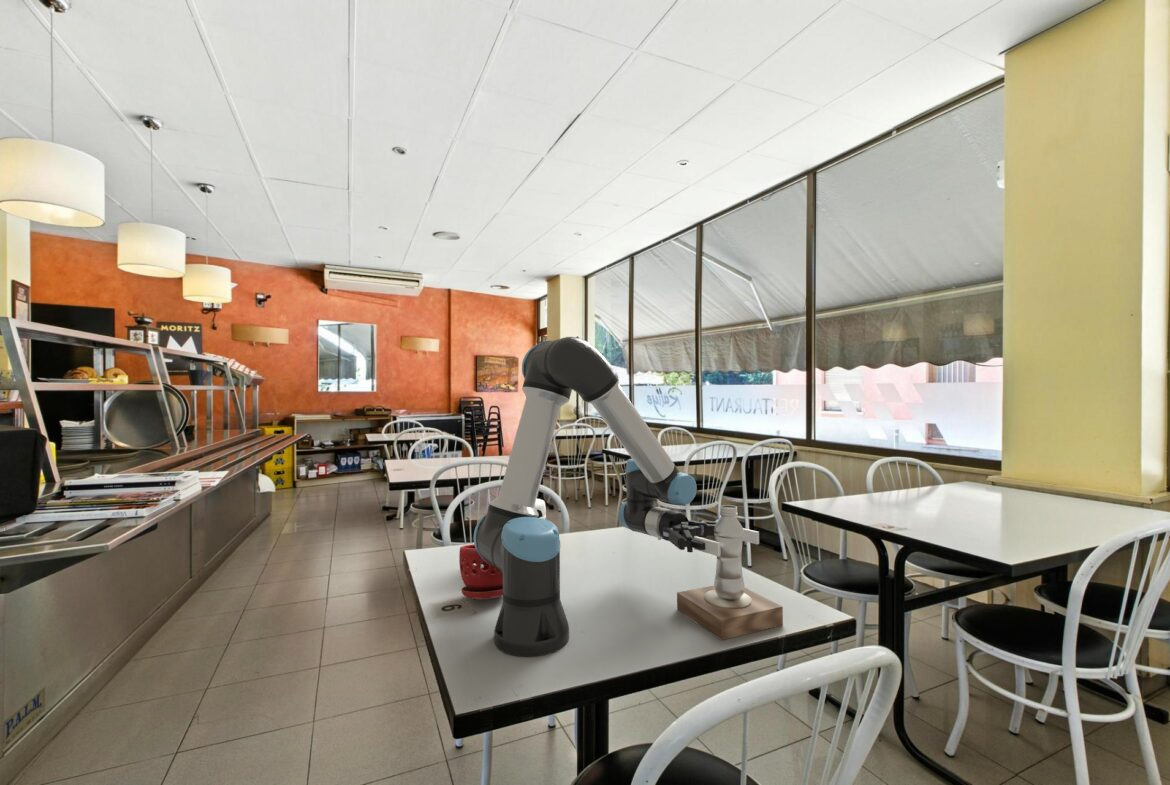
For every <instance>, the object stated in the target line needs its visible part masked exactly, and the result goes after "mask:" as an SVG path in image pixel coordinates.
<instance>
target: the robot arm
mask: <svg viewBox="0 0 1170 785" xmlns="http://www.w3.org/2000/svg"><path fill="white" fill-rule="evenodd" d="M521 372H522V373H521V374H522V375H523V378H524V379H523V384H522V388H521V390H522V392H523V393H524V396H525V400H524V405H523V409H522V411H521V415H520V419H519V422H518V426H517V429H516V433H515V437H514V440H513V444H512V447H511V451H510V454H509V458H508V462H507V465H506V469H505V473H504V474H503V475H504V476H503V479H502V482H501V483H502V484H501V485H500V486H501V487H500V489H499V490H500V491H499V493H498V496H497V497H496V498H495V499H493V500H491V501H490V502H489V505H488V508H487V512H486V513H485V514H484V515H483V516H482V517H481V518H480V519H479V520H478V522H477V524H476V525H475V528H474V532H473V544H474V545H475V548H476V550H477V552H478V554H479V555H480V556H481V557H482V559H483V560H484V561H485V562H486V563H487V564H489V565H491V566H493V567H494V568H495V569H497V570H498V571H499V572H501V573H502V575H503V595H502V604H501V607H500V610H499V614H498V616H497V620H496V624H495V627H494V630H493V631H494V633H493V636H494V637H493V638H494V640H493V642H494V645H495V647H496V648H497V649H498V650H500V651H501V652H503V653H505V654H508V655H511V656H517V657H537V656H543V655H544V656H545V655H547V654H550V653H553V652H556V651H558V650H560V649H561V648H563V647H564V646H565V645H566V644H567V643H568V642H569V639H570V626H569V621H568V619H567V615H566V613H565V610H564V606H563V604H562V601H561V554H560V552H561V551H560V550H561V540H560V533H559V532H560V531H559V529H558V527H557V525H556V524H554V523H553V521H551V520H548V519H547V518H546V519H543V518H541V519H538V516H539V514H538V512H537V510H536V508H535V502H536V499H538V493H539V489H540V486H541V483H542V480H543V475H544V472H545V467H546V463H547V461H548V458H549V452H550V449H551V445H552V443H553V442H552V441H553V437H554V433H555V430H556V427H557V423H558V419H559V415H560V412H561V408H562V407H563V406H565V405H566V404H568V403H569V402H570V398H571V395H572V392H573V391H574V392H575V393H576V394H577V395H579V396H580V398H581V399H582V401H583V402H584V403H586V404H591V405H592V406H593V408H594V409H595V410H596V412H597V413H598V414H599V416H600V417H601V418H602V419H603V422H605V424H606V425H607V426H608V428H609V429H610V431H611V432H612V433H613V435H614V436H615V438H616V439H617V440H618V441H619V443H620V444H621V446H622V447H623V448H624V449H625V451H626V452H627V453H628V455H629V456H630V458H629V459H627V461H626V465H625V467H626V468H625V482H626V484H625V486H626V501H624V502H623V503H621V505H620V506H619V511H618V512H617V513H618V514H617V517H618V518H617V519H618V521H619V524H620V525H621V526H622V527H623V528H626V529H628V530H630V531H632V532H636V533H641V534H643V535H647V536H650V537H653V538H657V540H658V541H661V540H664V541H668V542H670V544H672V545H674V546H675V548H677V549H678V550H680V551H683V550H685V549H686V552H687V553H693V552H694V551H693V550H695V551H699V552H701V553H706V554H709V555H712V556H716V557H717V556H720V542H716V541H715V540H712V539H708V538H707V537H708V536H710V537H711V536H712V537H715V536H714V527H715V525H716V523H717V522H718V521H713V520H705V519H701V518H700V519H698V521H696V520H691V519H690V520H689V519H688V517H687V515H686V514H685V513H683V512H681V511H677V510H674V509H673V510H672V509H670V508H665V507H661V506H656V503H655V502H656V500H659V501H662V502H665V503H666V502H667V503H670V504H672V505H679V506H687V505H689V504H691V503H692V501H693V500H694V498H695V497H696V495H697V491H698V490H697V489H698V487H697V483H696V480H695V478H694V477H693V476H692V475H690V474H688V473H686V472H681V471H680V470H679V468H678V467H677V465H675V463H674V461H673V460H672V459H671V457H670V456H669V454H668V453H667V451H666V450H665V449H664V447H663V446H662V444H661V442H660V441H659V440H658V439H657V437H656V436H655V434H654V433H653V432H652V430H651V429H650V427H649V426H648V424H647V423H646V421H645V420H644V419H643V417H642V416H641V414H640V413H639V411H638V410H637V408H636V407H635V405H634V404H633V403H632V402H631V400H630V399H629V397H628V395H627V394H626V393H625V391H624V390H623V388H622V387H621V385H620V383H619V382H620V376H619V374H618V373H617V371H616V370H615V369H614V367H613V366H612V365H611V363H610V362H609V361H608V360H607V359H606V357H605V356H604V355H603V353H602V352H600V351H599V350H598V348H596V347H595V346H593V345H592V344H591V343H590V342H589V341H587V340H585V339H583V338H580V337H575V336H566V337H561V338H557V339H554V340H546V341H541V342H539V343H537V344H535V345H533V346H532V347H531V348H529V350H527V352H526V353H525V355H524V357H523V359H522V362H521ZM743 531H744V535H743V542H746V543H749V544H754V545H759V544H760V531H756V530H753V529H748V528H745V527H743ZM702 532H703V533H702Z"/></svg>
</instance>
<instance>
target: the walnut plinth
mask: <svg viewBox="0 0 1170 785" xmlns="http://www.w3.org/2000/svg"><path fill="white" fill-rule="evenodd" d="M676 605H677V606H676V609H677V611H678V612H679V613H681V614H683V615H684V616H686V617H688V618H689V619H690V620H692V621H693V622H695V623H696V624H697V625H699V626H700V627H702V628H703V629H705V630H706V631H708V632H709V633H710V634H712V635H713V636H715V637H716V638H718V639H719V640H720V641H723V640H728V639H731V638H736V637H739V636H740V635H741V636H746V635H748V633H749V634H753V633H757V632H761V631H765V629H766V630H769V629H768V628H770V629H773V627H774V628H777V626H778V627H781V625H782V626H784V620H783V618H784V617H783V616H784V614H783V613H784V612H783V610H784V609H783V608H784V607H783V606H782V605H780V604H779V603H777V602H776V601H775V602H774V601H772V600H771V599H768V598H766V597H764V596H763V595H761V594H758V593H757V592H755V591H752V590H751V589H749V588H747V587H745V588H744V594H743V595H742V597H741V598H739V599H724V598H721V597H719V596H718V595H717V594H716V592H715V588H714V585H709V586H702V587H698V588H693V589H688V590H682V591H677V592H676ZM688 618H687V619H688ZM760 630H761V631H760ZM752 632H753V633H752Z"/></svg>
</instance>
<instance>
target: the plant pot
mask: <svg viewBox="0 0 1170 785" xmlns="http://www.w3.org/2000/svg"><path fill="white" fill-rule="evenodd" d="M458 554H459V556H458V557H459V571H460V576H461V579H462V582H463V584H464V587H462V588H461V590H460V591H461V594H462V595H463V596H464V597H465V598H468V599H472V600H473V601H474V600H475V601H476V600H490V599H495V598H500V597H503V575H502V573H501V572H499V571H498V570H497V569H495V568H494V567H493V566H491V565H489V564H487V563H486V562H485V561H484V560H483V559H482V557H481V556H480V555H479V554H478V552H477V550H476V548H475V545H474V543H473V544H468V545H467V544H466V545H461V546H460V547H459V553H458ZM482 565H483V567H482Z"/></svg>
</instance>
